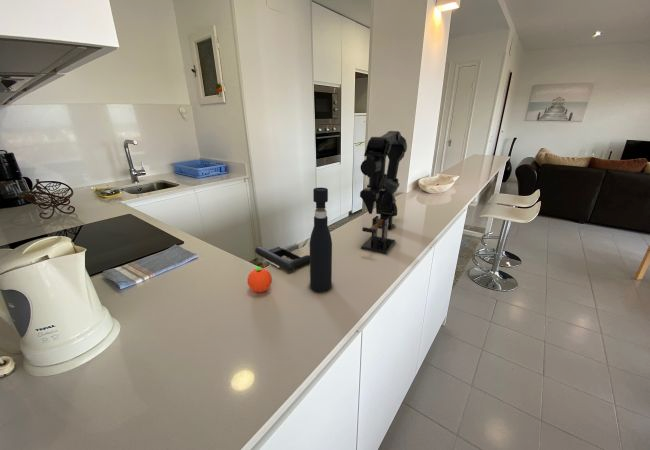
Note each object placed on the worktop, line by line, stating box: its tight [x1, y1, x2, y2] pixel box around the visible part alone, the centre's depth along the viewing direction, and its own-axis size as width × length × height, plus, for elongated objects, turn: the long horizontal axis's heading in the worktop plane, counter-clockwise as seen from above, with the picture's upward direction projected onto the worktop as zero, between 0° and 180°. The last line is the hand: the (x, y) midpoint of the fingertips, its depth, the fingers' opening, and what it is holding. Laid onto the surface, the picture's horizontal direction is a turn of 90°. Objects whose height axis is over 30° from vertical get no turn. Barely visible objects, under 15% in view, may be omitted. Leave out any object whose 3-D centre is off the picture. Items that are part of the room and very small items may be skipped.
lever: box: [361, 218, 384, 235], centre depth 102 cm, size 14×5×2 cm, turn 151°
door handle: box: [254, 243, 310, 273], centre depth 100 cm, size 3×20×16 cm
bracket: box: [360, 215, 396, 255], centre depth 108 cm, size 12×10×12 cm
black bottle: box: [309, 187, 333, 293], centre depth 78 cm, size 6×6×30 cm
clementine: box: [247, 266, 273, 293], centre depth 81 cm, size 8×7×7 cm
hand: (374, 210), depth 111 cm, fingers open, 9 cm apart
